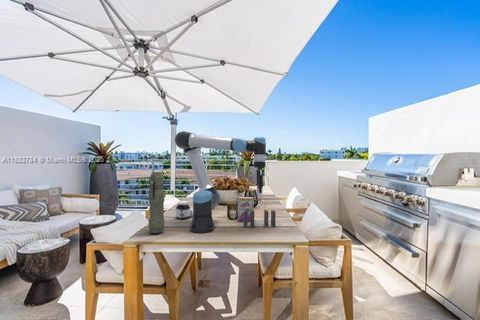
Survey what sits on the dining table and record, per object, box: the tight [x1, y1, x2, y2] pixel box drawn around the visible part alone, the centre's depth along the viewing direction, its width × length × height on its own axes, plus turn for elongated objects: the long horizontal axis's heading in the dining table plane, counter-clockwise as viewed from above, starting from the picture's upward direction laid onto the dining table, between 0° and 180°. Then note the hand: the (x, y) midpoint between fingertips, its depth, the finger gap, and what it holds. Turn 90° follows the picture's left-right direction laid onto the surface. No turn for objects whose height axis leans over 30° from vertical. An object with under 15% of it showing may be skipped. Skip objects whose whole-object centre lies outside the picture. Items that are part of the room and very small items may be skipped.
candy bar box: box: [236, 196, 255, 223], centre depth 174 cm, size 11×5×16 cm, turn 84°
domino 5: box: [270, 209, 277, 228], centre depth 161 cm, size 2×5×10 cm, turn 3°
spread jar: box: [175, 200, 193, 220], centre depth 183 cm, size 12×11×12 cm
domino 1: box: [243, 210, 248, 228], centre depth 160 cm, size 2×5×10 cm, turn 3°
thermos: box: [148, 171, 165, 234], centre depth 148 cm, size 9×12×35 cm
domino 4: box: [263, 209, 269, 228], centre depth 161 cm, size 2×5×10 cm, turn 3°
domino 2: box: [249, 209, 255, 228], centre depth 160 cm, size 2×5×10 cm, turn 3°
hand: (259, 197), depth 160 cm, fingers closed on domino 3, 5 cm apart
